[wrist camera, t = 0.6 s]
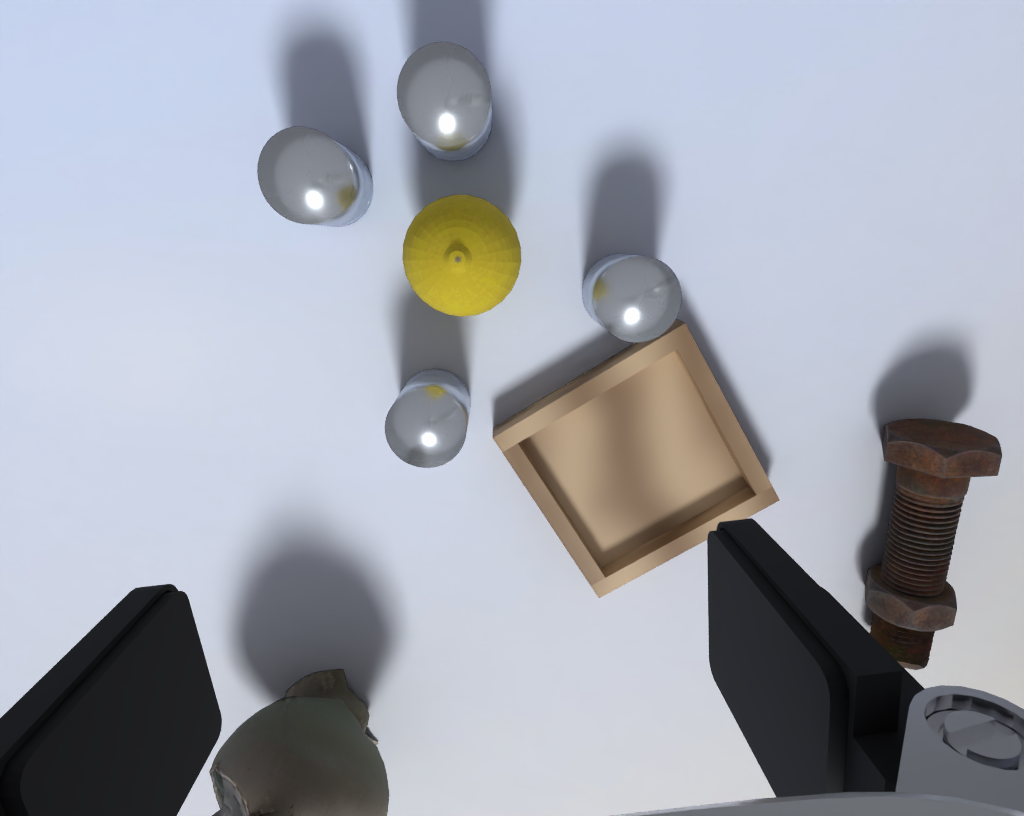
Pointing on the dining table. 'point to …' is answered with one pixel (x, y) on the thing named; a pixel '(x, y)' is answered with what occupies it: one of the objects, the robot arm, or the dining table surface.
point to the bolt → (923, 531)
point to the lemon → (461, 255)
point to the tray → (636, 459)
